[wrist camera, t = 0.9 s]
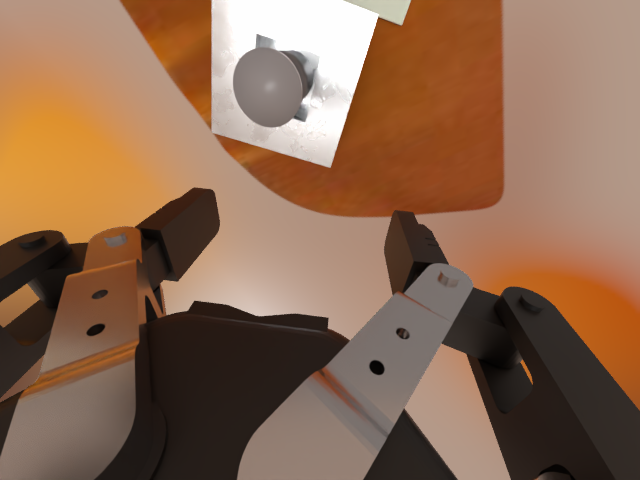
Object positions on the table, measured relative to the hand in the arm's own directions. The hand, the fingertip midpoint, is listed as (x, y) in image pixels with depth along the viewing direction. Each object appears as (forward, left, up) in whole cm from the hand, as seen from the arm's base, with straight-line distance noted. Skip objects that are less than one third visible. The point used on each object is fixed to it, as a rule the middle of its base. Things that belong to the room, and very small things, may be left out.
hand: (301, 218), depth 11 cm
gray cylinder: (-5, +3, -22) cm, 23 cm away
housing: (-5, +3, -24) cm, 25 cm away
